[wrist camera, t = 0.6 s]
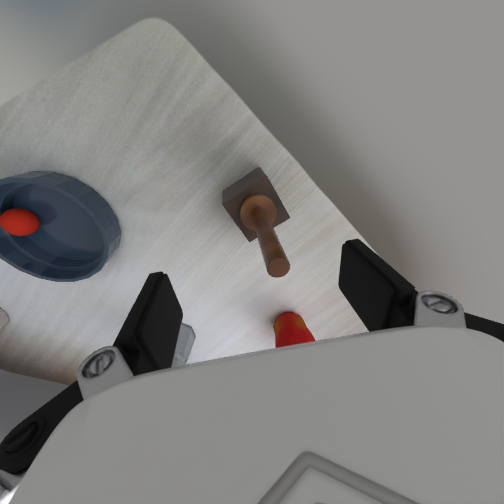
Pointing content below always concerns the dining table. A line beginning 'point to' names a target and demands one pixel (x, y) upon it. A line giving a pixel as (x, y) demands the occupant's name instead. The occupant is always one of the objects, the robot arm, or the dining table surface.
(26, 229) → the ball
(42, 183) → the bowl
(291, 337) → the apple
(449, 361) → the robot arm
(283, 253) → the wooden plunger
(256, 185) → the rest
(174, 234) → the dining table surface
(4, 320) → the candle
